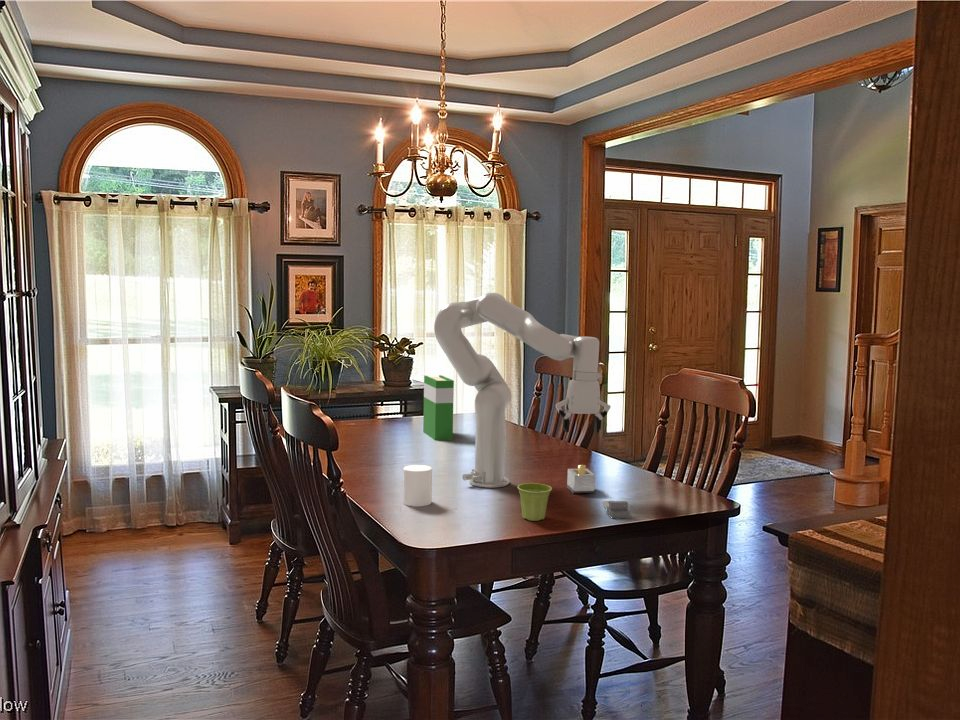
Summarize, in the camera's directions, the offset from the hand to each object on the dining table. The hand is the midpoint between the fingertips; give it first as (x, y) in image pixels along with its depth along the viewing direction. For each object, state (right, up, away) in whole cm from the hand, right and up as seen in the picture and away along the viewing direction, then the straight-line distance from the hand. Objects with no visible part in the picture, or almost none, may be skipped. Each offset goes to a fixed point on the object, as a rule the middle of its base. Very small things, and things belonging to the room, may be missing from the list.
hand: (581, 431), depth 253 cm
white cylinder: (-50, -19, -14) cm, 56 cm away
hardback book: (-49, -9, +84) cm, 98 cm away
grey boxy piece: (+7, -21, -24) cm, 33 cm away
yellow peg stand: (0, -19, +2) cm, 19 cm away
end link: (0, -18, +2) cm, 18 cm away
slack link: (+6, -21, -17) cm, 28 cm away
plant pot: (-17, -22, -28) cm, 39 cm away
